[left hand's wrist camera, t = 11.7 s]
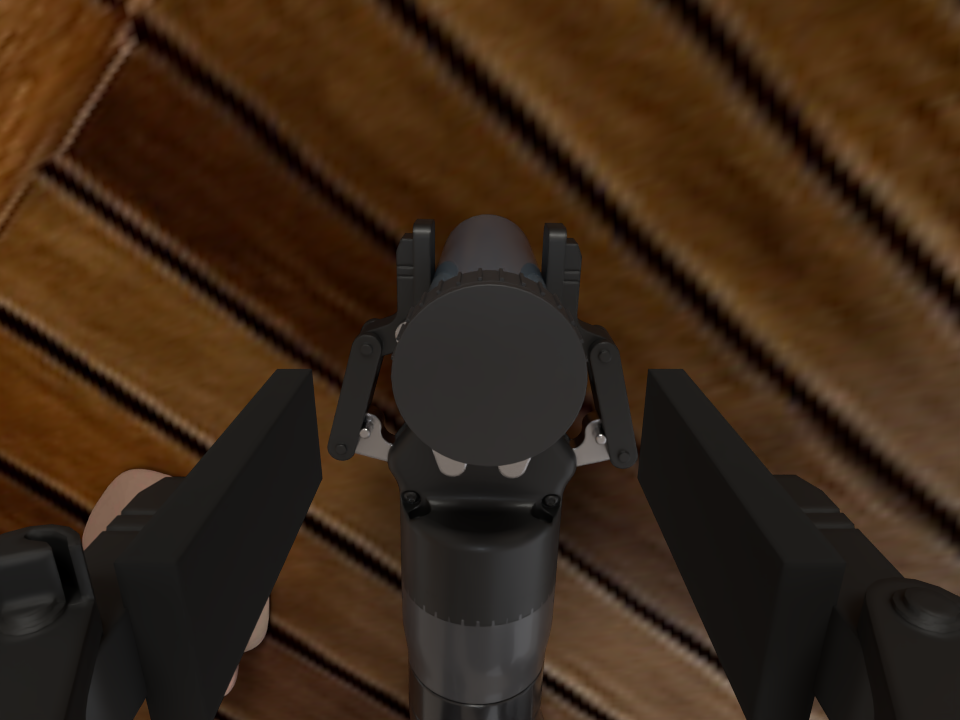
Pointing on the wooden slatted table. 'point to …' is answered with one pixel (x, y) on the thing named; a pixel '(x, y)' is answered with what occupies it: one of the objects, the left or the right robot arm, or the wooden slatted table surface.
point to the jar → (487, 250)
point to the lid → (489, 368)
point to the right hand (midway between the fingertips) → (489, 225)
